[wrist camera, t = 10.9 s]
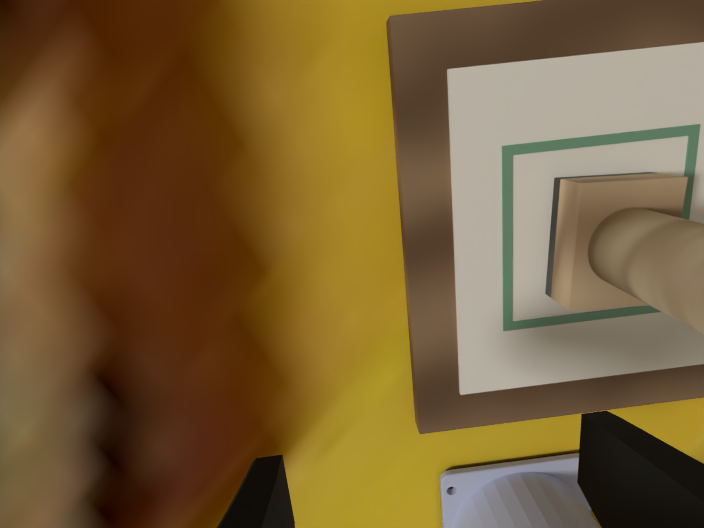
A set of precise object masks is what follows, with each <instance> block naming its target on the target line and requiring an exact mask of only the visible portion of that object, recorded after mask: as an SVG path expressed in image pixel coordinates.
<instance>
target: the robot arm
mask: <svg viewBox="0 0 704 528" xmlns="http://www.w3.org/2000/svg"><path fill="white" fill-rule="evenodd" d="M449 487H453V488H452V489H448V488H449ZM440 492H441V509H442V527H443V528H601V527H602V528H704V464H703V463H701V462H699V461H697V460H695V459H694V458H692V457H690V456H688V455H686V454H685V453H683V452H681V451H679V450H677V449H676V448H674V447H672V446H670V445H668V444H667V443H665V442H663V441H661V440H659V439H658V438H656V437H654V436H652V435H651V434H649V433H647V432H645V431H643V430H642V429H640V428H638V427H636V426H634V425H633V424H631V423H629V422H627V421H625V420H624V419H622V418H620V417H618V416H616V415H614V414H612V413H610V412H608V411H601V412H593V413H586V414H582V418H581V433H580V448H579V453H574V454H566V455H559V456H551V457H544V458H536V459H529V460H521V461H514V462H506V463H499V464H491V465H483V466H476V467H468V468H461V469H453V470H448V471H445V472H443V473H442V474H441V476H440ZM591 509H592V511H593V513H594V514H595V516H596V518H597V520H598V522H599V523H600V525H601V527H600V526H599V525H598V523H597V522H596V520H595V519H594V517H593V516H592V515H591ZM217 528H295V522H294V516H293V511H292V505H291V500H290V495H289V489H288V484H287V478H286V473H285V467H284V462H283V456H282V455H277V456H270V457H262V458H256V459H255V460H254V462H253V463H252V465H251V467H250V469H249V471H248V473H247V475H246V477H245V478H244V480H243V482H242V484H241V486H240V488H239V490H238V492H237V494H236V495H235V497H234V499H233V501H232V503H231V505H230V506H229V508H228V510H227V512H226V513H225V515H224V517H223V518H222V520H221V522H220V523H219V525H218V527H217Z"/></svg>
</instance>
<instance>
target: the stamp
mask: <svg viewBox="0 0 704 528" xmlns="http://www.w3.org/2000/svg"><path fill="white" fill-rule="evenodd" d="M687 180H688V177H684V176H677V175H669V174H662V173H654V172H641V173H624V174H607V175H590V176H573V177H556V178H554V188H553V201H552V214H551V227H550V239H549V252H548V265H547V278H546V290H545V294H546V295H548V296H549V297H550V298H552V299H553V300H555V301H556V302H557V303H559V304H560V305H561V306H563V307H564V308H565V309H567V310H568V311H581V310H595V309H608V308H622V307H636V306H652V307H654V308H655V309H657V310H659V311H661V312H663V313H665V314H666V315H668V316H670V317H672V318H674V319H676V320H678V321H679V322H681V323H683V324H685V325H687V326H689V327H690V328H692V329H694V330H696V331H698V332H700V333H702V334H703V335H704V224H702V223H698V222H694V221H690V220H686V219H682V218H681V217H682V210H683V204H684V198H685V192H686V186H687Z"/></svg>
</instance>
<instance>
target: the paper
mask: <svg viewBox="0 0 704 528" xmlns="http://www.w3.org/2000/svg"><path fill="white" fill-rule="evenodd" d="M447 83H448V108H449V134H450V160H451V186H452V212H453V238H454V264H455V289H456V315H457V341H458V367H459V393H460V395H465V394H472V393H480V392H488V391H496V390H504V389H512V388H519V387H527V386H535V385H543V384H551V383H559V382H567V381H574V380H582V379H590V378H598V377H606V376H614V375H621V374H629V373H637V372H645V371H653V370H661V369H669V368H676V367H684V366H692V365H700V364H704V335H703V334H702V333H700V332H698V331H696V330H694V329H692V328H690V327H689V326H687V325H685V324H683V323H681V322H679V321H678V320H676V319H674V318H672V317H670V316H668V315H666V314H665V313H663V312H661V311H659V310H657V309H655V308H654V307H652V306H636V307H622V308H608V309H595V310H581V311H568V310H567V309H565V308H564V307H563V306H561V305H560V304H559V303H557V302H556V301H555V300H553V299H552V298H550V297H549V296H548V295H546V294H545V290H546V278H547V265H548V252H549V239H550V227H551V214H552V201H553V188H554V178H556V177H573V176H590V175H607V174H624V173H641V172H654V173H662V174H669V175H677V176H684V177H688V180H687V186H686V192H685V198H684V204H683V210H682V217H681V218H682V219H686V220H690V221H694V222H698V223H702V224H704V42H700V43H691V44H681V45H672V46H662V47H653V48H643V49H634V50H624V51H615V52H605V53H596V54H586V55H576V56H567V57H557V58H548V59H538V60H529V61H519V62H510V63H500V64H491V65H481V66H472V67H462V68H453V69H447Z"/></svg>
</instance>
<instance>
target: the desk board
mask: <svg viewBox="0 0 704 528" xmlns="http://www.w3.org/2000/svg"><path fill="white" fill-rule="evenodd" d="M387 36H388V50H389V64H390V77H391V91H392V105H393V119H394V132H395V146H396V160H397V174H398V187H399V201H400V215H401V228H402V242H403V256H404V270H405V283H406V297H407V311H408V325H409V338H410V352H411V366H412V380H413V393H414V407H415V421H416V424H417V427H418V431H419V434H425V433H432V432H440V431H448V430H455V429H463V428H471V427H479V426H486V425H494V424H502V423H509V422H517V421H525V420H532V419H540V418H548V417H556V416H563V415H571V414H579V413H586V412H594V411H602V410H610V409H617V408H625V407H633V406H640V405H648V404H656V403H663V402H671V401H679V400H687V399H694V398H702V397H704V364H700V365H692V366H684V367H676V368H669V369H661V370H653V371H645V372H637V373H629V374H621V375H614V376H606V377H598V378H590V379H582V380H574V381H567V382H559V383H551V384H543V385H535V386H527V387H519V388H512V389H504V390H496V391H488V392H480V393H472V394H465V395H460V393H459V367H458V341H457V315H456V289H455V264H454V238H453V212H452V186H451V160H450V134H449V108H448V83H447V69H453V68H462V67H472V66H481V65H491V64H500V63H510V62H519V61H529V60H538V59H548V58H557V57H567V56H576V55H586V54H596V53H605V52H615V51H624V50H634V49H643V48H653V47H662V46H672V45H681V44H691V43H700V42H704V0H543V1H533V2H523V3H513V4H503V5H493V6H483V7H473V8H463V9H453V10H444V11H434V12H424V13H414V14H404V15H394V16H390V17H389V19H388V20H387Z"/></svg>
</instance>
